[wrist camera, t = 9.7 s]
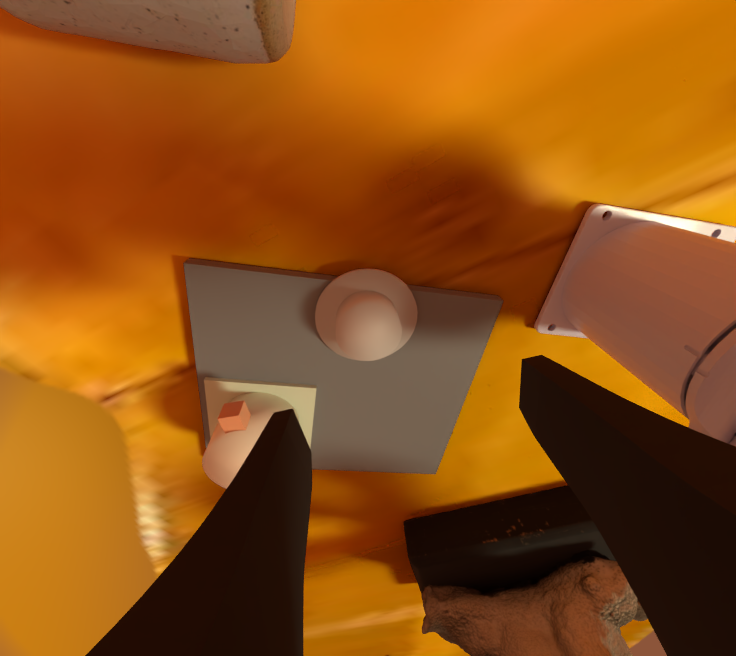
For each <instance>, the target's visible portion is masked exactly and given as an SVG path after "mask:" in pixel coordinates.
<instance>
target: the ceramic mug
mask: <svg viewBox="0 0 736 656" xmlns="http://www.w3.org/2000/svg"><path fill="white" fill-rule="evenodd" d="M295 5H296V0H0V7H1V8H3V9H4V10H6V11H7V12H9V13H10V14H12V15H13V16H15V17H17V18H19V19H21V20H23V21H25V22H28V23H30V24H32V25H35V26H37V27H40V28H42V29H46V30H51V31H57V32H62V33H68V34H75V35H82V36H87V37H93V38H98V39H104V40H109V41H115V42H120V43H125V44H131V45H136V46H141V47H147V48H152V49H160V50H169V51H174V52H179V53H184V54H189V55H195V56H200V57H205V58H210V59H215V60H221V61H226V62H231V63H271V62H275V61H278V60H279V59H280V58H281V57H282V56H283V55H284V54H285V53H286V52H287V51H288V49H289V48H290V44H291V41H292V34H293V28H294V17H295Z"/></svg>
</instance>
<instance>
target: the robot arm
mask: <svg viewBox="0 0 736 656" xmlns="http://www.w3.org/2000/svg"><path fill="white" fill-rule="evenodd" d="M606 211H607V214H606V216H605V217H604V218H603V219H602V216H603V214H604V213H605V212H606ZM712 233H713V234H712ZM735 240H736V227H733V226H728V225H722V224H716V223H711V222H705V221H699V220H693V219H687V218H681V217H675V216H669V215H664V214H658V213H652V212H646V211H640V210H634V209H628V208H622V207H617V206H611V205H605V204H594V205H592V206H591V207H589V208H588V210H587V211H586V214H585V216H584V218H583V220H582V222H581V224H580V227H579V229H578V231H577V233H576V235H575V237H574V240H573V242H572V244H571V246H570V248H569V250H568V253H567V255H566V257H565V259H564V261H563V263H562V266H561V268H560V270H559V272H558V274H557V276H556V279H555V281H554V283H553V285H552V287H551V289H550V292H549V294H548V296H547V298H546V300H545V302H544V305H543V307H542V309H541V311H540V313H539V316H538V318H537V320H536V322H535V325H534V327H535V329H536V330H537V331H538V332H539V333H544V334H553V335H563V336H572V337H582V338H589V339H590V340H591V341H593V342H594V343H595V344H596V345H598V346H599V347H600V348H601V349H602V350H604V351H605V352H606V353H607V354H609V355H610V356H611V357H612V358H614V359H615V360H616V361H617V362H619V363H620V364H621V365H622V366H623V367H625V368H626V369H627V370H628V371H630V372H631V373H632V374H633V375H635V376H636V377H637V378H638V379H640V380H641V381H642V382H643V383H644V384H646V385H647V386H648V387H649V388H651V389H652V390H653V391H654V392H656V393H657V394H658V395H659V396H661V397H662V398H663V399H664V400H666V401H667V402H668V403H669V404H670V405H672V406H673V407H674V408H675V409H677V410H678V411H679V412H680V413H682V414H683V415H684V416H685V417H687V418H688V419H689V420H690V424H689V427H685V426H683V425H681V424H678V423H676V422H674V421H671V420H669V419H667V418H665V417H663V416H660V415H658V414H656V413H654V412H652V411H650V410H647V409H645V408H643V407H641V406H639V405H637V404H635V403H633V402H631V401H629V400H627V399H625V398H622V397H620V396H618V395H617V394H615V393H613V392H611V391H609V390H607V389H605V388H603V387H601V386H599V385H597V384H595V383H593V382H592V381H590V380H588V379H586V378H584V377H582V376H580V375H578V374H577V373H575V372H573V371H571V370H569V369H567V368H566V367H564V366H562V365H560V364H558V363H556V362H554V361H552V360H551V359H549V358H547V357H545V356H543V355H539V356H535V357H530V358H525V359H522V367H521V384H520V402H519V408H520V410H521V412H522V414H523V416H524V418H525V420H526V422H527V424H528V426H529V427H530V429H531V431H532V433H533V435H534V436H535V438H536V439H537V441H538V442H539V444H540V445H541V447H542V448H543V450H544V451H545V452H546V454H547V455H548V457H549V458H550V460H551V461H552V463H553V464H554V465H555V467H556V468H557V470H558V471H559V472H560V474H561V475H562V477H563V478H564V479H565V481H566V482H567V484H568V485H569V487H570V488H571V489H572V491H573V492H574V494H575V495H576V496H577V498H578V499H579V501H580V502H581V504H582V505H583V506H584V508H585V510H586V511H587V513H588V514H589V516H590V517H591V519H592V520H593V522H594V523H595V525H596V527H597V529H598V530H599V532H600V534H601V535H602V537H603V539H604V541H605V542H606V544H607V546H608V547H609V549H610V551H611V553H612V554H613V556H614V558H615V559H616V561H617V563H618V565H619V567H620V568H621V570H622V572H623V574H624V576H625V578H626V579H627V581H628V583H629V585H630V587H631V588H632V590H633V592H634V594H635V596H636V597H637V599H638V601H639V603H640V605H641V607H642V609H643V610H644V612H645V614H646V616H647V618H648V620H649V622H650V624H651V626H652V628H653V629H654V631H655V633H656V635H657V637H658V639H659V641H660V643H661V645H662V646H663V648H664V650H665V652H666V654H667V656H736V243H734V241H735ZM551 324H552V326H551V327H550V328H548V327H549V325H551ZM311 492H312V454H311V449H310V447H309V445H308V442H307V440H306V438H305V435H304V433H303V431H302V428H301V426H300V424H299V421H298V419H297V417H296V414H295V412H294V410H293V409H288V410H283V411H279V412H274V413H273V415H272V416H271V418H270V419H269V421H268V423H267V424H266V426H265V428H264V429H263V431H262V433H261V435H260V436H259V438H258V440H257V441H256V443H255V445H254V446H253V448H252V450H251V451H250V453H249V455H248V456H247V458H246V460H245V461H244V463H243V464H242V466H241V468H240V469H239V471H238V472H237V474H236V476H235V477H234V479H233V480H232V482H231V483H230V485H229V486H228V488H227V489H226V490H225V492H224V493H223V495H222V496H221V498H220V499H219V501H218V502H217V504H216V505H215V507H214V508H213V509H212V511H211V512H210V514H209V515H208V516H207V518H206V519H205V520H204V522H203V523H202V524H201V526H200V527H199V528H198V530H197V531H196V532H195V534H194V535H193V536H192V538H191V539H190V540H189V541H188V543H187V544H186V545H185V546H184V548H183V549H182V550H181V551H180V553H179V554H178V555H177V556H176V557H175V559H174V560H173V561H172V562H171V563H170V564H169V566H168V567H167V568H166V569H165V570H164V571H163V573H162V574H161V575H160V576H159V577H158V578H157V579H156V581H155V582H154V583H153V584H152V585H151V586H150V588H149V589H148V590H147V591H146V592H145V593H144V594H143V596H142V597H141V598H140V599H139V600H138V601H137V602H136V603H135V604H134V605H133V607H132V608H131V609H130V610H129V611H128V612H127V613H126V614H125V615H124V616H123V617H122V618H121V619H120V620H119V622H118V623H117V624H116V625H115V626H114V627H113V628H112V629H111V630H110V631H109V632H108V633H107V634H106V635H105V636H104V637H103V638H102V639H101V640H100V641H99V642H98V643H97V644H96V645H95V646H94V648H93V649H92V650H91V651H90V652H89V653H88V654H87V655H85V656H303V586H304V566H305V555H306V544H307V534H308V524H309V514H310V503H311Z"/></svg>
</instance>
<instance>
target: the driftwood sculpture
mask: <svg viewBox="0 0 736 656" xmlns="http://www.w3.org/2000/svg"><path fill="white" fill-rule="evenodd" d="M404 530H405V537H406V544H407V551H408V558H409V561H410V564H411V567H412V569H413V572H414V575H415V577H416V580H417V583H418V585H419V588H420V591H421V594H422V600H423V607H424V610H425V614H426V616H425V617H424V619H423V626H422V633H423V634H426V633H428V632H436V633H438V634H439V635H440V636H441V637H442V638H443V639H445V640H447V641H448V642H450V643H454V644H457V645H459V646H460V648H461V649H463V650H464V651H465V652H466V653H468V654H469V655H471V656H633V655H632V653H631V651H630V650H629V648H628V646H627V644H626V642H625V640H624V639H623V637H622V636H621V631H620V627H621V626H623V625H626V624H627V623H628V622H631V621H632V620H633V619H634V620H637V621H645V620H646V619H648V618H647V616H646V614H645V612H644V610H643V609H642V607H641V605H640V603H639V601H638V599H637V597H636V596H635V594H634V592H633V590H632V588H631V587H630V585H629V583H628V581H627V579H626V578H625V576H624V574H623V572H622V570H621V568H620V567H619V565H618V563H617V561H616V559H615V558H614V556H613V554H612V553H611V551H610V549H609V547H608V546H607V544H606V542H605V541H604V539H603V537H602V535H601V534H600V532H599V530H598V529H597V527H596V525H595V523H594V522H593V520H592V519H591V517H590V516H589V514H588V513H587V511H586V510H585V508H584V506H583V505H582V504H581V502H580V501H579V499H578V498H577V496H576V495H575V494H574V492H573V491H572V489H571V488H570V487H569V486H563V487H558V488H555V489H550V490H545V491H540V492H535V493H532V494H526V495H522V496H518V497H513V498H509V499H504V500H499V501H495V502H490V503H485V504H481V505H477V506H471V507H467V508H462V509H458V510H453V511H449V512H444V513H439V514H434V515H430V516H425V517H421V518H417V519H411V520H407V521H405V522H404Z"/></svg>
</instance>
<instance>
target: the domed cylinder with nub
mask: <svg viewBox="0 0 736 656" xmlns="http://www.w3.org/2000/svg"><path fill="white" fill-rule="evenodd" d="M288 409H293V410H294V412H295V414H296V417H297V419H298V421H299V417H298V414H297V412H296V410H295V409H294V407H293V406H292V405H291V404H290V403H288V402H287V401H286V400H284V399H282V398H280V397H278V396H275V395H272V394H268V393H260V392H254V393H247V394H243V395H240V396H237V397H235V398H234V399H232V400H231V401H229V402H228V403H225V404H224V405H223V407H222V410H221V412H220V414H219V416H218V423H217V425H216V428H215V430H214V432H213V435H212V437H211V439H210V442H209V444H208V446H207V449H206V451H205V453H204V456H203V460H202V465H203V469H204V471H205V473H206V474H207V476H208V477H209V478H210V479H211V480H212V481H213V482H215V483H216V484H218V485H219V486H221V487H223V488H226V489H227V488H228V486H229V485H230V483H231V482H232V480H233V479H234V477H235V476H236V474H237V472H238V471H239V469H240V468H241V466H242V464H243V463H244V461H245V460H246V458H247V456H248V455H249V453H250V451H251V450H252V448H253V446H254V445H255V443H256V441H257V440H258V438H259V436H260V435H261V433H262V431H263V429H264V428H265V426H266V424H267V423H268V421H269V419H270V418H271V416H272V415H273V413H274V412H279V411H283V410H288Z"/></svg>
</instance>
